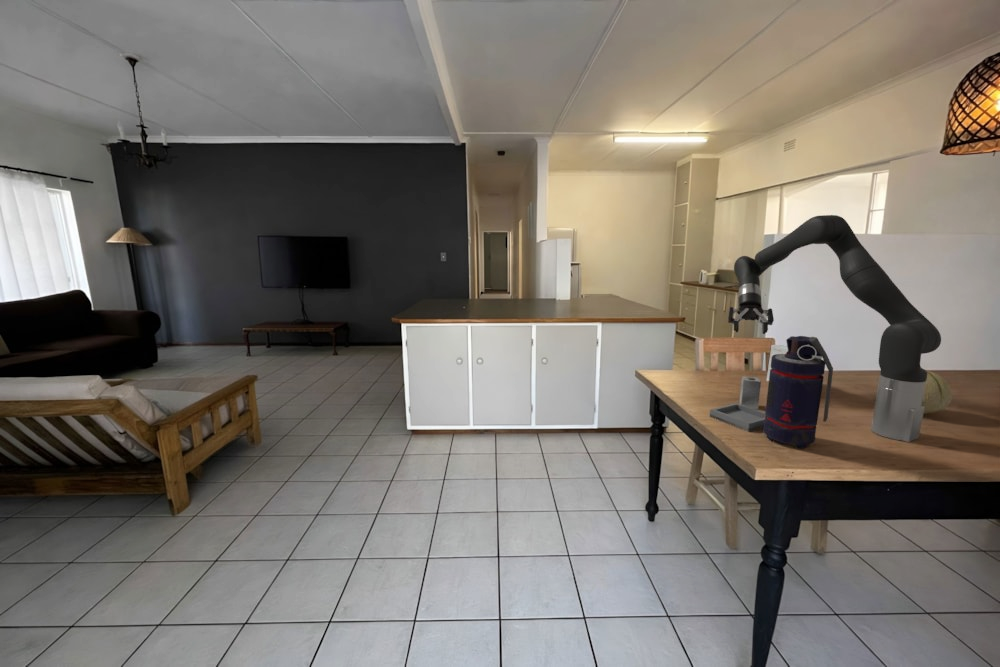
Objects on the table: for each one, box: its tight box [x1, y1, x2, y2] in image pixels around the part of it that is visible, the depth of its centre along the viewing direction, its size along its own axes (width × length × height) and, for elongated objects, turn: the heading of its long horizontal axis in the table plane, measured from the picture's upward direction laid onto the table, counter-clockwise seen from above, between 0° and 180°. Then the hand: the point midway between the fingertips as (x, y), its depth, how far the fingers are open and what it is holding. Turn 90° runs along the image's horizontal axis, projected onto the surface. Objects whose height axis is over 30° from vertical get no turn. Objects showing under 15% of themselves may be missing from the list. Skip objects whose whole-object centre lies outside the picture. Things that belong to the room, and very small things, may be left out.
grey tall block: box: [738, 375, 762, 410], centre depth 137 cm, size 5×5×10 cm
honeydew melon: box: [921, 370, 953, 415], centre depth 129 cm, size 15×15×15 cm
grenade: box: [763, 335, 834, 449], centre depth 108 cm, size 14×12×30 cm
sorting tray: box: [709, 402, 766, 432], centre depth 126 cm, size 13×13×2 cm
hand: (750, 331), depth 144 cm, fingers open, 8 cm apart
